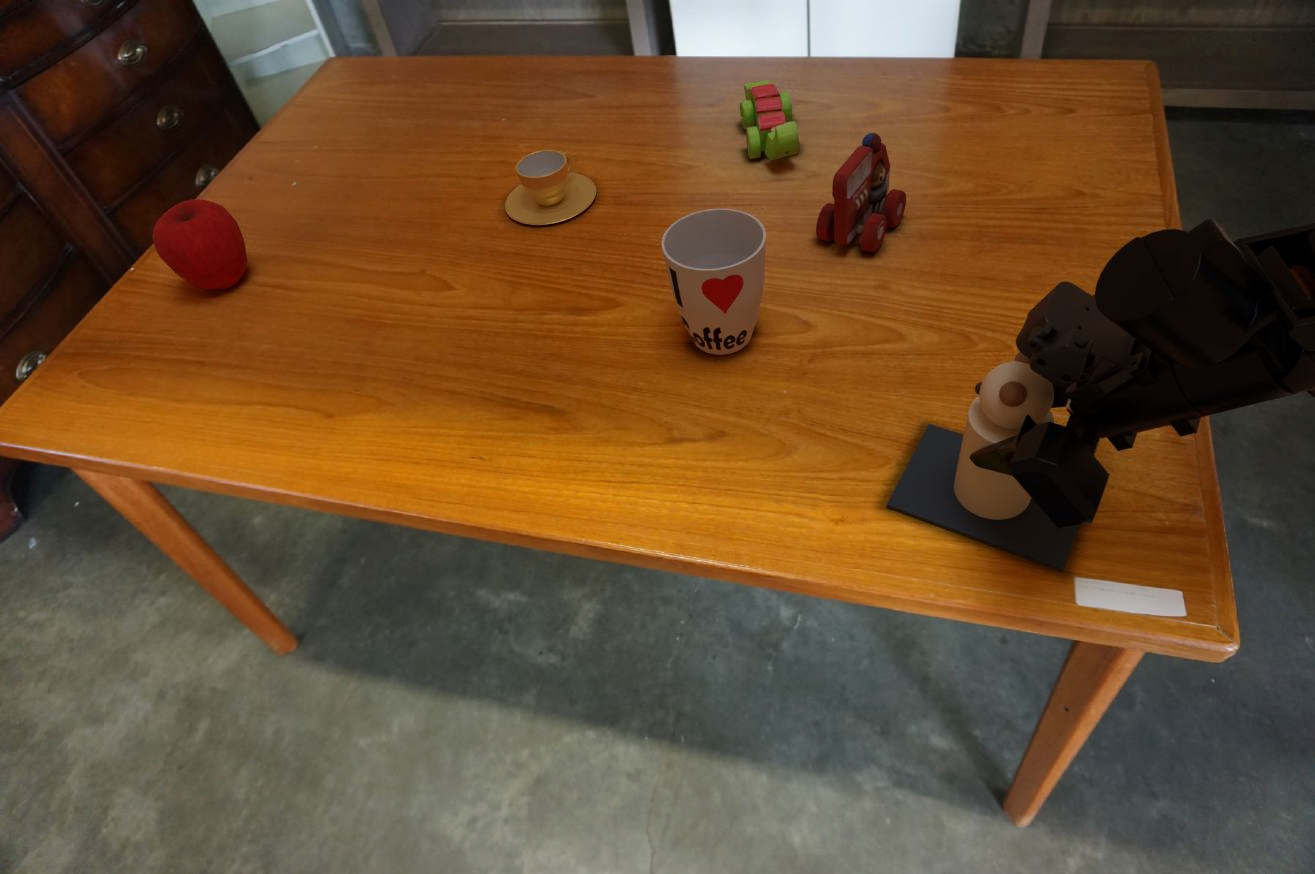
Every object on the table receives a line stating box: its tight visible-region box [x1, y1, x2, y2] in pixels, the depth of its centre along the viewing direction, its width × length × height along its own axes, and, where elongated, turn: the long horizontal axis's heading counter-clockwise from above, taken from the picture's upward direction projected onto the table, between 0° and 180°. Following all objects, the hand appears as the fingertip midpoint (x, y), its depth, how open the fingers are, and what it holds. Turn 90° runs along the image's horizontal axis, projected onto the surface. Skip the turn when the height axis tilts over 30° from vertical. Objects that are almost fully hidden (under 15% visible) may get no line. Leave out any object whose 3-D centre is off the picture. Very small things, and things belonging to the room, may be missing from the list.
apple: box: [151, 198, 248, 290], centre depth 102 cm, size 10×10×11 cm
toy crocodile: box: [739, 79, 801, 161], centre depth 109 cm, size 20×7×6 cm, turn 3°
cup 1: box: [504, 149, 597, 226], centre depth 106 cm, size 12×12×5 cm
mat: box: [886, 423, 1080, 573], centre depth 69 cm, size 14×10×1 cm
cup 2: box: [661, 208, 767, 356], centre depth 82 cm, size 10×10×12 cm
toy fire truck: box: [815, 132, 907, 253], centre depth 91 cm, size 7×12×10 cm, turn 146°
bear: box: [954, 351, 1055, 520], centre depth 64 cm, size 6×6×14 cm
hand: (986, 432), depth 65 cm, fingers closed on bear, 6 cm apart
